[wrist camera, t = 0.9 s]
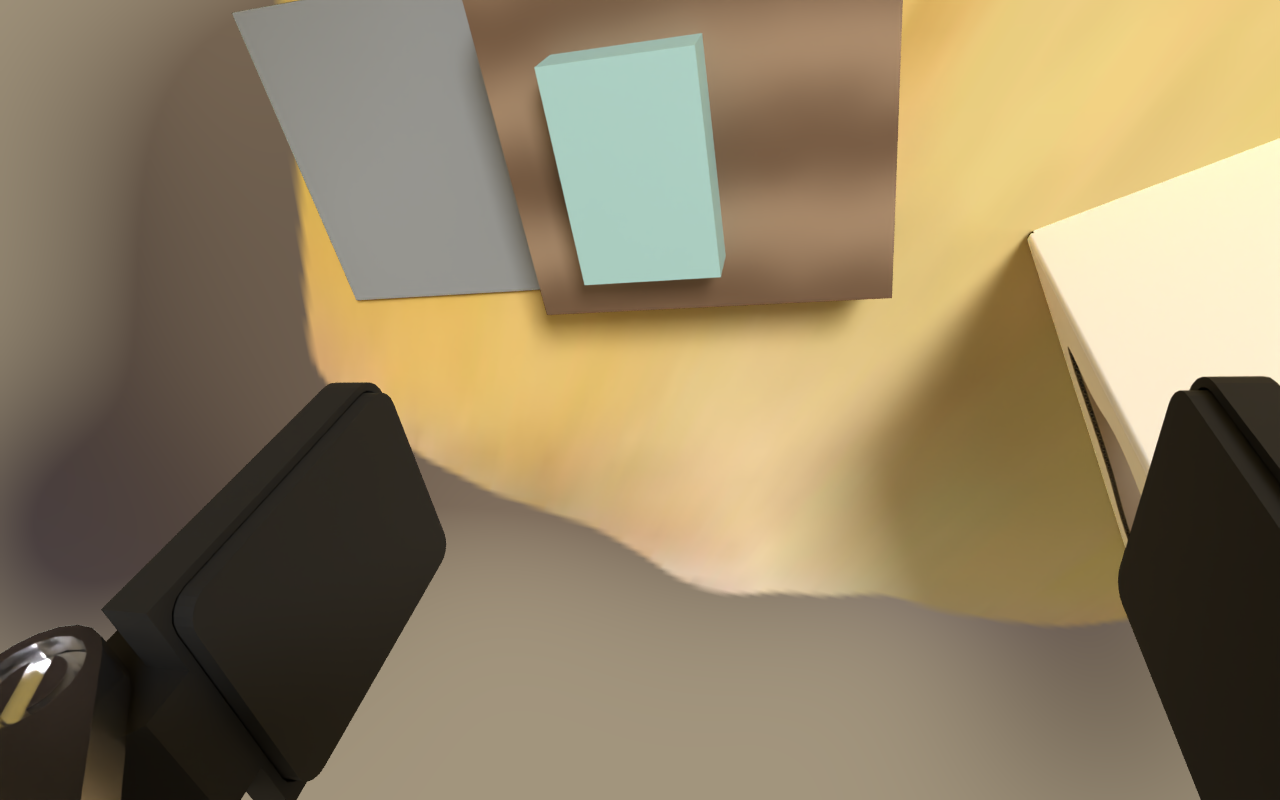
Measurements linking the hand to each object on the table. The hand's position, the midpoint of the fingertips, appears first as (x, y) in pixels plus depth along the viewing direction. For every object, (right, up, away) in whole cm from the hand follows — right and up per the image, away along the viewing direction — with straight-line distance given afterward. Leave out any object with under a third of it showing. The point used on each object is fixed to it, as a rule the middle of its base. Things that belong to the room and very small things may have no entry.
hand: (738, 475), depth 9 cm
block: (-1, +11, +21) cm, 24 cm away
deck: (+2, +13, +24) cm, 27 cm away
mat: (-13, +13, +28) cm, 33 cm away
